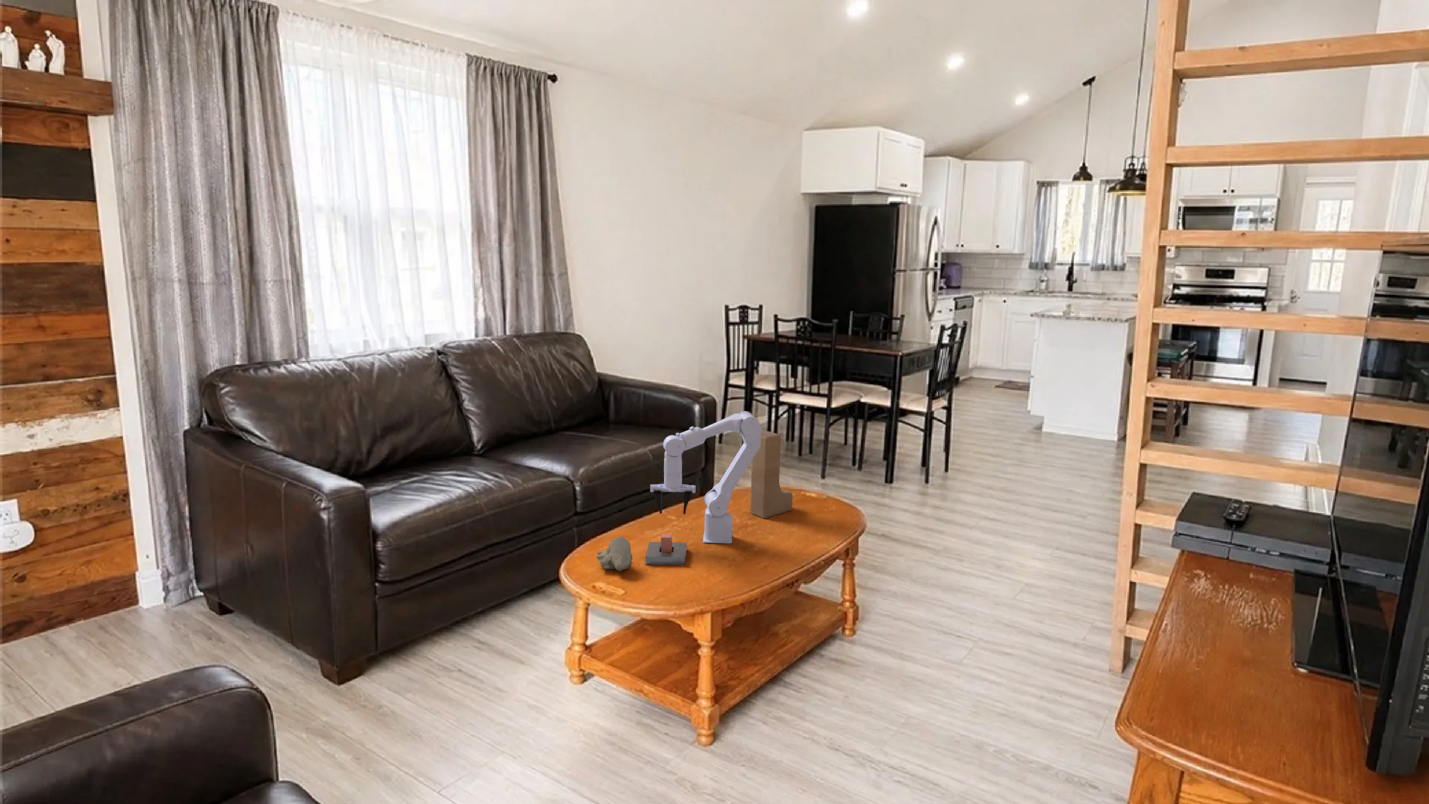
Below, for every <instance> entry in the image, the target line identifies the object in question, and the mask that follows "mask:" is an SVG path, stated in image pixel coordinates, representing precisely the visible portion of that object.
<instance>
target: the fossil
mask: <svg viewBox="0 0 1429 804" xmlns="http://www.w3.org/2000/svg"><path fill="white" fill-rule="evenodd" d="M631 550H632V549H631V544H630V542H629V540H628V539H627V538H626V537H623V536H618V537H615V538H612V539H611V540H610V542H609V543H608V548H607V549H603V550H601V551H597V552H596V553H597V555H596V559H597V561H598V563H599V564H600V566H601V567H602V568H603V570H613V569H614V570H617V571H618V572H622V571H623V570H626V569H628V568H630V567H631V566H632V564H633V554H632V551H631Z"/></svg>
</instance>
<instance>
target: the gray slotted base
mask: <svg viewBox="0 0 1429 804" xmlns="http://www.w3.org/2000/svg"><path fill="white" fill-rule="evenodd" d="M687 544H688V543H687V542H674V541H672V552H661V541H648V546H647V549H646V554H645V559H644V561H645V562H644V563H645V565H660V566H661V565H662V566H663V565H665V566H666V565H667V566H685V565H686V558H687V550H688V547H687V546H688V545H687Z"/></svg>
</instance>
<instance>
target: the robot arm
mask: <svg viewBox="0 0 1429 804" xmlns="http://www.w3.org/2000/svg"><path fill="white" fill-rule="evenodd" d="M729 431H730V432H734V433H737V434H740V433H741V437H742V441H743V443H742V445H741V447H740V448H739V450H738V452H737V454H736V455H735V456H734V458H733V460H732V461H731V463H730V465H729V466H728V467H727V469H726V471H725V473H724V474H723V476H722V477H721V479H720V481H719V482H718V483H717V484H715V485H714V486H713V487H712V489H711V490H709V491H707V492H706V494H705V495H704V498H703V502H704V504H705V506H706V509H705V510H704V533H703V536H702V537H703V538H702V543H704V544H733V536H734V530H733V514H732V513H728V509H729V504H730V502H731V499H732V495H733V494H732V493H733V491H734V490H735V488H736V486H737V485H738V483H739V482H740V480H741V478H742V477H743V476H744V474H745V472H746V470H747V468H748V467H749V466H750V464H751V463H752V459H753V458H754V456H755V454H756V453H757V451H758V450H759V448H760V445H761V432H763V428H762V426H761V423H760V421H759V419H757V418H756V417H754V415H753V414H752V413H751V412H750V411H746V410H743V411H740V412H737V413H733V414H731V415H729V416H727V417H725V418H723V419H721V420H719V421H717V422H714V423H712V424H710V425H709V424H708V426H705V427H703V428H701V427H699V426H696V427H695V426H690V427H689V429H688V430H685V431H683V432H680V433H679V432H676V433H675V435H673V434H671V435H668V436H667V437H665V439H664V440H663V443H662V447H663V450H665V451H664V459H663V462H664V463H663V473H664V474H663V478H664V479H663V480H664V481H663V483H657V484H650V486H649V489H650V493H652V494H653V498H654V500H655V501H656V504H657V506H658V510H659V514H663V492H665V493H667V492H668V493H670V492H671V493H683V509H682V510H683V511H682V514H683V515H686V513H687V509H688V508H687V507H688V505H689V502H690V500H691V497H692V495H693V494H696V485H693V484H692V485H690V484H686V483H685V484H683V481H682V480H683V472H682V471H683V459H682V455H683V453H684V451H687V450H690V449H693V448H695V447H697V446H700V445H703V444H704V443H705V441H706V439H708V438H711V437H715V436H717V435H720V434H722V433H725V432H729Z"/></svg>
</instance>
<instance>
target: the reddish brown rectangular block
mask: <svg viewBox="0 0 1429 804" xmlns="http://www.w3.org/2000/svg"><path fill="white" fill-rule="evenodd" d="M660 542H661V552H672V542H673V533H661V537H660Z"/></svg>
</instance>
